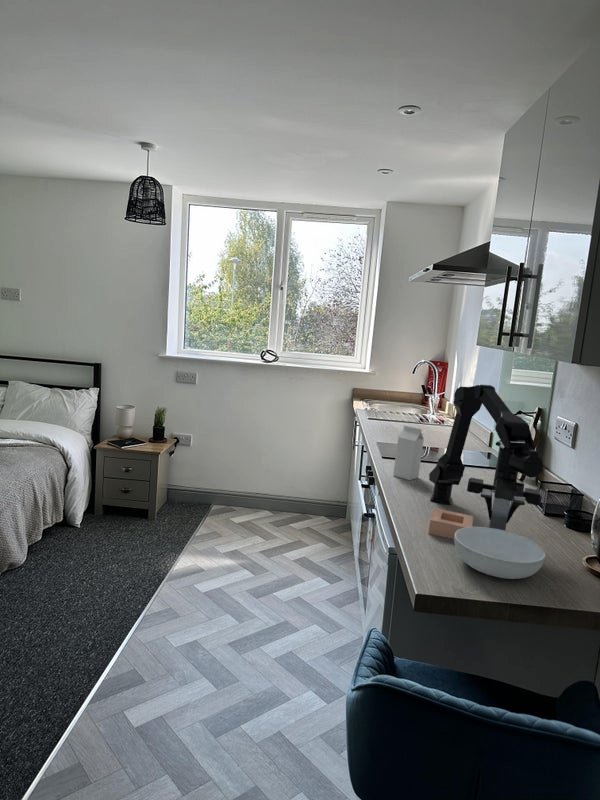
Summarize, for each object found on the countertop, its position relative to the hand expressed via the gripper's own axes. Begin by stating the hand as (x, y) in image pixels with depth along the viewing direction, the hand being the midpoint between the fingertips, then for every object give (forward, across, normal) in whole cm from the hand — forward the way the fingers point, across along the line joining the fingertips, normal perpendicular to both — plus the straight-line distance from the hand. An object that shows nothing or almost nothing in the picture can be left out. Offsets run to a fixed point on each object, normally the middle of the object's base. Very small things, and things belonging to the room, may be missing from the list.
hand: (498, 521), depth 150 cm
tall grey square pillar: (+4, 0, 0) cm, 4 cm away
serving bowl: (+6, 0, -19) cm, 20 cm away
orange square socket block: (+6, -12, 0) cm, 13 cm away
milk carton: (+6, -32, +48) cm, 58 cm away
